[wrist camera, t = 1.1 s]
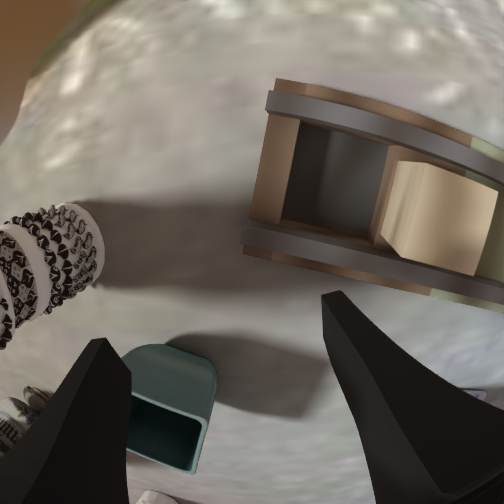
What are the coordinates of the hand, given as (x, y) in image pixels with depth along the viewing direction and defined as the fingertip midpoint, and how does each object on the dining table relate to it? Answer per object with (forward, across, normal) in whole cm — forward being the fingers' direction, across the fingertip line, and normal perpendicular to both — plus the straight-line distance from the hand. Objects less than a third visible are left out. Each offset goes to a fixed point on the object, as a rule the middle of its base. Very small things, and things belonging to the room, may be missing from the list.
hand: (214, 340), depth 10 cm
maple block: (+9, -13, +2) cm, 16 cm away
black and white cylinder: (+18, +15, +4) cm, 24 cm away
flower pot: (+12, +7, +17) cm, 22 cm away
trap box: (+10, -17, +4) cm, 21 cm away
